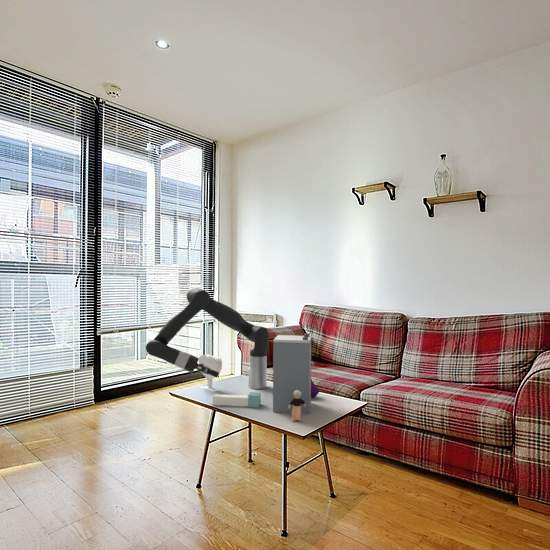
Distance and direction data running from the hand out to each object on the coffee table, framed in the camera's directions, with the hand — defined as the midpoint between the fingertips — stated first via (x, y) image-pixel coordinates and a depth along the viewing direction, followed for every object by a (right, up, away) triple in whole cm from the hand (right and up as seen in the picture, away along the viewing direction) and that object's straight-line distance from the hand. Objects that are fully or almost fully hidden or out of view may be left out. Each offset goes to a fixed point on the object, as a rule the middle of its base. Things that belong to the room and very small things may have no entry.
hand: (218, 375), depth 194 cm
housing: (+35, -13, -6) cm, 38 cm away
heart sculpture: (-8, -14, +25) cm, 29 cm away
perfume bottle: (+45, -14, +10) cm, 48 cm away
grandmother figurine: (+36, -13, -24) cm, 46 cm away
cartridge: (+8, -13, -3) cm, 16 cm away
